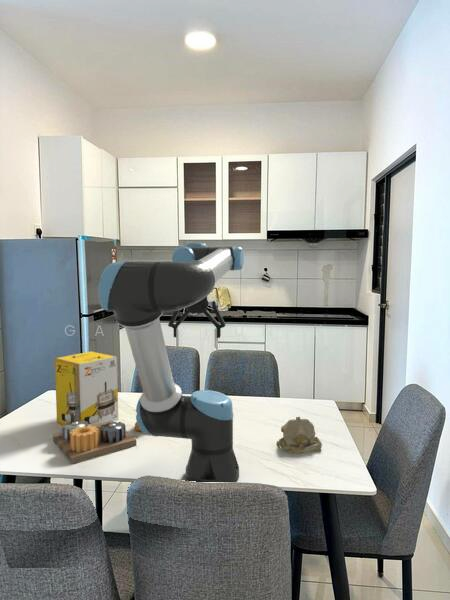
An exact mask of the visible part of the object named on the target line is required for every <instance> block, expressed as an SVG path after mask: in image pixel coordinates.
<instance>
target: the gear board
mask: <svg viewBox="0 0 450 600" xmlns="http://www.w3.org/2000/svg"><path fill="white" fill-rule="evenodd" d="M109 422H110V423H112V422H114V421H108V422H104V423H100V424H96V425H92V427H93V426H95V427H97V428H98V446H97V447H94V449H92V450H90V449H89V450H87V451H80V452H77V451H76V450H75V451H73V450H72V449H71V445H70V440H69V441H65V440H63V439H62V432H59V433H54V434H53V435H52V441H53V442H54V444H55V445H56V446H57V448H59V451H61V453H62V454H63V455H64V456H65V458H66V459H67V460H68V461H69V463H70V464H71V465H72V464H76V463H80V462H84V461H88V460H91V459H93V458H97V457H100V456H104V455H108V454H111V453H114V452H118V451H122V450H124V449H128V448H131V447H135V446H137V438H135V437H134V436H133V435H131V433H129V432H128V431H126V438H124V440H123V441H121V440H120V441H119V442H117V443H116V442H113V443H111V444H109V442H107V443H103V442H101V441H100V436H99V427H101V425H103V424H106V423H109ZM84 433H86V432H84Z"/></svg>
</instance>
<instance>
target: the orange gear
mask: <svg viewBox="0 0 450 600" xmlns="http://www.w3.org/2000/svg"><path fill="white" fill-rule="evenodd" d="M84 432H86V433H84ZM70 445H71V449H72V450H73V451H75V450H76V451H77V452H80V451H87V450H89V449H90V450H92V449H94V447H97V446H98V428H97V427H95V426H93V427H92V426H86V427H85V426H82V427H80V428H79V427H77V428H75V429H72V430H71V432H70Z"/></svg>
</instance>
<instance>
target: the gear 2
mask: <svg viewBox="0 0 450 600" xmlns="http://www.w3.org/2000/svg"><path fill="white" fill-rule="evenodd" d="M126 430H127V429H126V424H125V422H122V421H118V422H117V421H113V422H112V423H110V422H109V423H106V424H103V425H101V427H99V436H100V441H101V442H103V443H107V442H109V444H111V443H113V442H116V443H117V442H119V441H120V440H121V441H123V440H124V438H126V432H127V431H126Z"/></svg>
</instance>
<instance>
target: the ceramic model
mask: <svg viewBox="0 0 450 600" xmlns="http://www.w3.org/2000/svg"><path fill="white" fill-rule="evenodd" d="M280 431H281V433H282V436H283V437H281V438H279V439H278V440H277V441H276V444H277V445H278V447H279V448H280V449H281V450H282V451H283V452H285V453H289V454H293V455H300V454H311V453H317V452H319V451H321V449H322V446H323V443H322V441H321V440H320V438H319V437H318V436H316V435H317V434H316V430H315V425H314V423H313V422H311V421H310V420H309V419H307V418H302V419H301V416H296V417H295V419H294V418H293V419H288V420H287V421H286V423H285V424H284V425H282V426H281V427H280Z"/></svg>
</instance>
